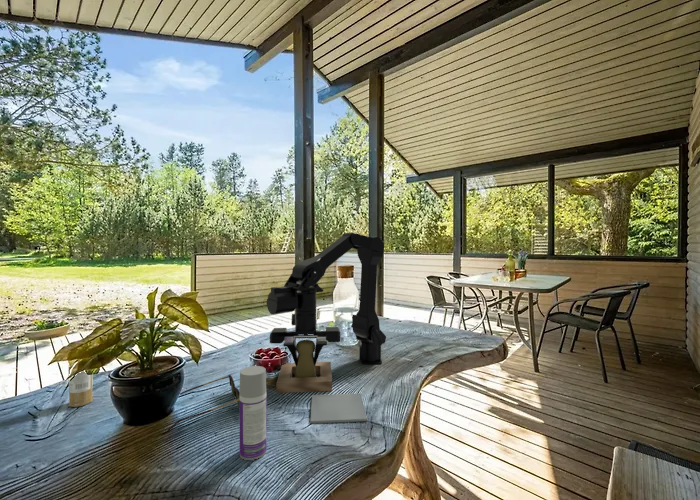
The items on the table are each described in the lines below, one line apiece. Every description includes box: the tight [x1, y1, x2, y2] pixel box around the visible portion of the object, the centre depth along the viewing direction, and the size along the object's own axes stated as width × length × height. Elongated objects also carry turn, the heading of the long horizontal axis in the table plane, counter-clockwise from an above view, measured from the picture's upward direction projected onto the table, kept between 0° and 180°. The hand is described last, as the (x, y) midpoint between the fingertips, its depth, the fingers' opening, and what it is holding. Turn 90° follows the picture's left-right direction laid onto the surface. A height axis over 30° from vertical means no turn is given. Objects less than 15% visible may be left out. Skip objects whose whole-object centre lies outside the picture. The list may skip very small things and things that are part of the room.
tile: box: [310, 392, 368, 424], centre depth 77 cm, size 12×12×1 cm
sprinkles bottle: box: [68, 366, 94, 408], centre depth 79 cm, size 5×5×14 cm
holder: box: [275, 361, 333, 394], centre depth 92 cm, size 14×14×2 cm
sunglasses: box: [167, 374, 240, 431], centre depth 76 cm, size 14×15×5 cm
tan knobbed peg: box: [294, 339, 317, 378], centre depth 92 cm, size 6×6×11 cm
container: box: [238, 365, 268, 461], centre depth 61 cm, size 5×5×15 cm
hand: (305, 366), depth 92 cm, fingers closed on tan knobbed peg, 4 cm apart
